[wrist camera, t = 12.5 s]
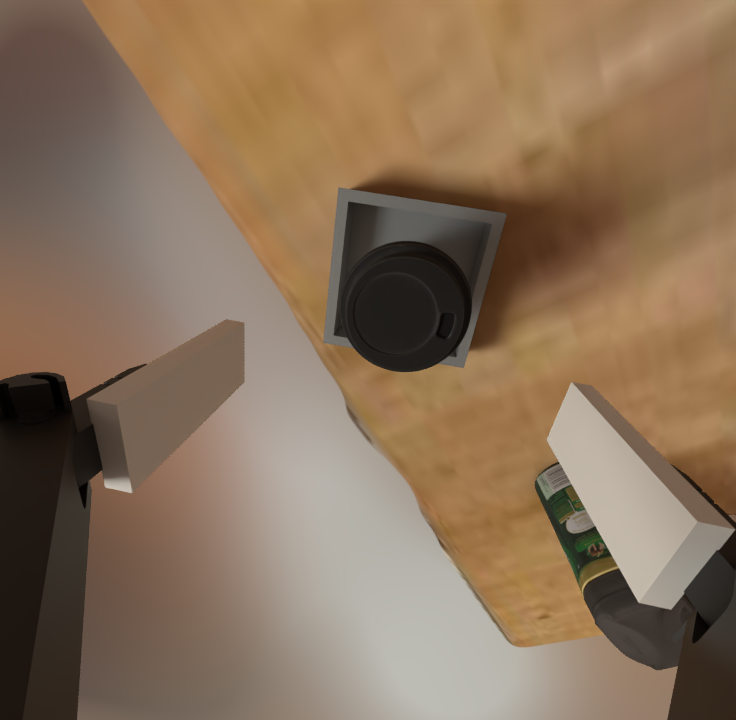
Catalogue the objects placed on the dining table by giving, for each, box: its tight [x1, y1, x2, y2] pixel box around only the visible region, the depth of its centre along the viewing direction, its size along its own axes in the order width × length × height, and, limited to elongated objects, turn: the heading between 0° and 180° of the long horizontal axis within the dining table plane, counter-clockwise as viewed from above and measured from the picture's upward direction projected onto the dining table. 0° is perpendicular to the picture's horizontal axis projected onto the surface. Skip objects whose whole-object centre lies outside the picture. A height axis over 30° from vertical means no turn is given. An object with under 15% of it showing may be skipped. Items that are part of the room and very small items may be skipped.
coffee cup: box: [340, 241, 472, 372], centre depth 30 cm, size 9×9×15 cm
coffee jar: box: [535, 463, 695, 670], centre depth 37 cm, size 10×8×19 cm
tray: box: [323, 188, 507, 368], centre depth 36 cm, size 15×15×4 cm
